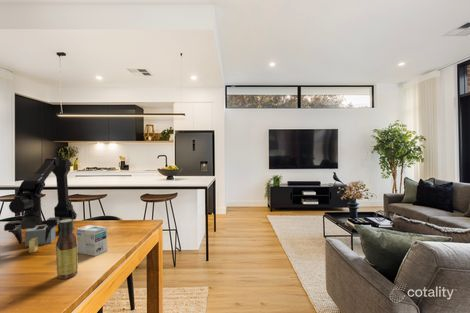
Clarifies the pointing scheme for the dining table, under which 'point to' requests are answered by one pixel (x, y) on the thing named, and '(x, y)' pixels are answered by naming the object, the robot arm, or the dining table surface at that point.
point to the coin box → (39, 235)
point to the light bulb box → (91, 240)
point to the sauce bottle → (66, 250)
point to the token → (33, 245)
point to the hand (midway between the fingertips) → (33, 242)
